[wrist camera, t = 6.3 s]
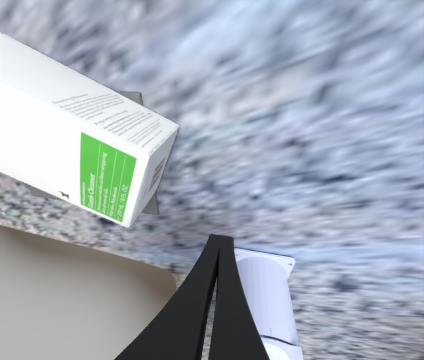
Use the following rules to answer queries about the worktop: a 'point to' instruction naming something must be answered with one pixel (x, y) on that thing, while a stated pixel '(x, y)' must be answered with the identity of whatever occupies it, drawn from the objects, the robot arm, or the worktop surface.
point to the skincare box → (78, 136)
